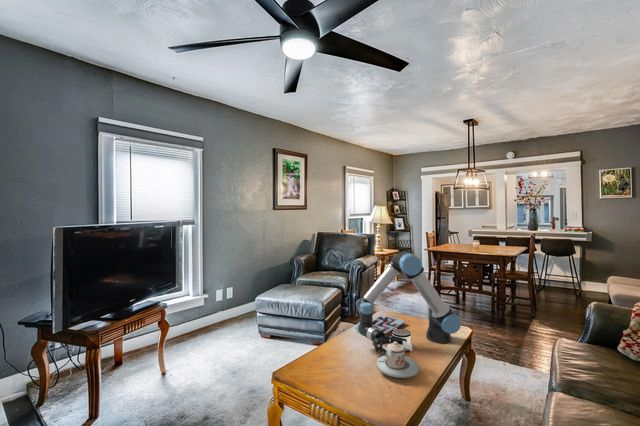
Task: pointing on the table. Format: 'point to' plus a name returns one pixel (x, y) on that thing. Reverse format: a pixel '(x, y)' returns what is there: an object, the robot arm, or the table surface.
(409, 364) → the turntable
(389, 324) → the maze game
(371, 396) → the table surface
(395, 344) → the teacup with lid
